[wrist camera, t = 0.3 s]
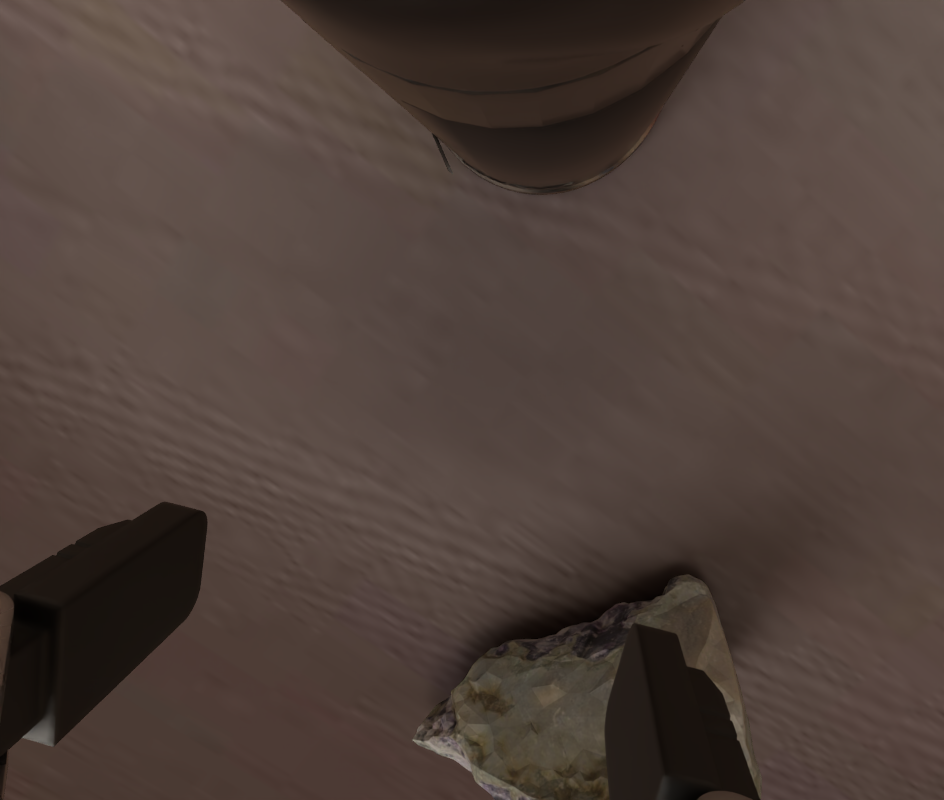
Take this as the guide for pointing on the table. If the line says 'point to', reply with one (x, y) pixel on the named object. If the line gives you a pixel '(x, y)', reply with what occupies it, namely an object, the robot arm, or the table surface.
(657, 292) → the table surface
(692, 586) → the mineral rock
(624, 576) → the table surface
